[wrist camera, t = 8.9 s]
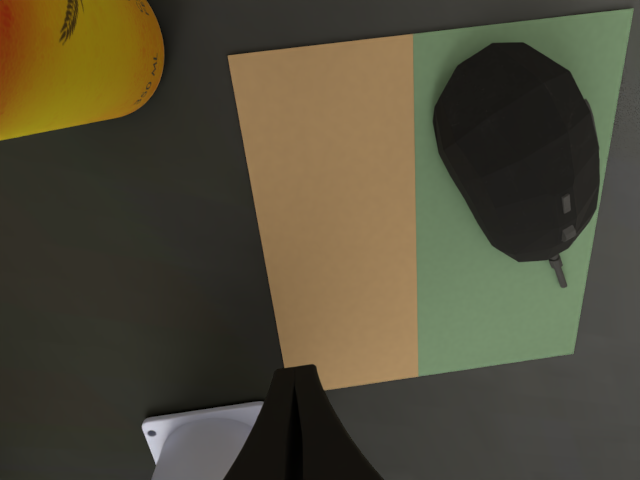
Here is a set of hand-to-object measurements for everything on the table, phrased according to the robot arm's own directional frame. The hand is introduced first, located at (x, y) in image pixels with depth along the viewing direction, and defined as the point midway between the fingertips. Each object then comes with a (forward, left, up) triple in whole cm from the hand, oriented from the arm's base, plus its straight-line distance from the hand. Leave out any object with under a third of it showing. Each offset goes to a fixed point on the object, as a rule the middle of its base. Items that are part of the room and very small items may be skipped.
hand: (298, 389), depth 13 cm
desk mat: (+1, -8, -9) cm, 12 cm away
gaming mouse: (+3, -13, -9) cm, 16 cm away
